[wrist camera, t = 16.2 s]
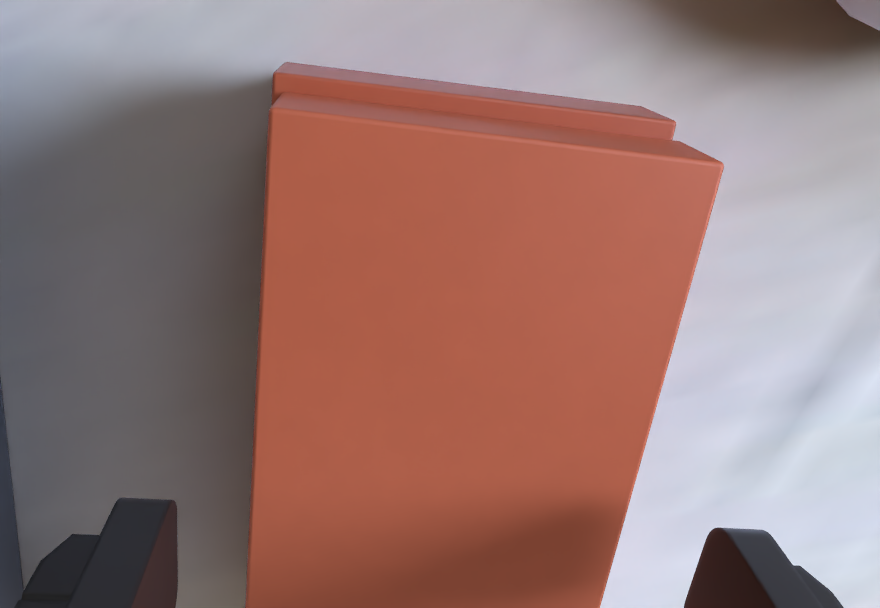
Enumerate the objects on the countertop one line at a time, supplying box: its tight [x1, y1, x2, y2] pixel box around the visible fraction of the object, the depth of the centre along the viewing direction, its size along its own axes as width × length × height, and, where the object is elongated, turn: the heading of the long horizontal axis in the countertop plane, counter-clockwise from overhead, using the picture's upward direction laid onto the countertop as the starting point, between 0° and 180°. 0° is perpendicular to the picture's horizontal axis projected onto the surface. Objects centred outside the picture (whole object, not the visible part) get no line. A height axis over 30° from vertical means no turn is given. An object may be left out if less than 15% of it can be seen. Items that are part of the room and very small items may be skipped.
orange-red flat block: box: [271, 62, 676, 140], centre depth 15 cm, size 13×6×3 cm, turn 173°
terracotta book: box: [245, 92, 724, 608], centre depth 13 cm, size 12×6×2 cm, turn 172°
